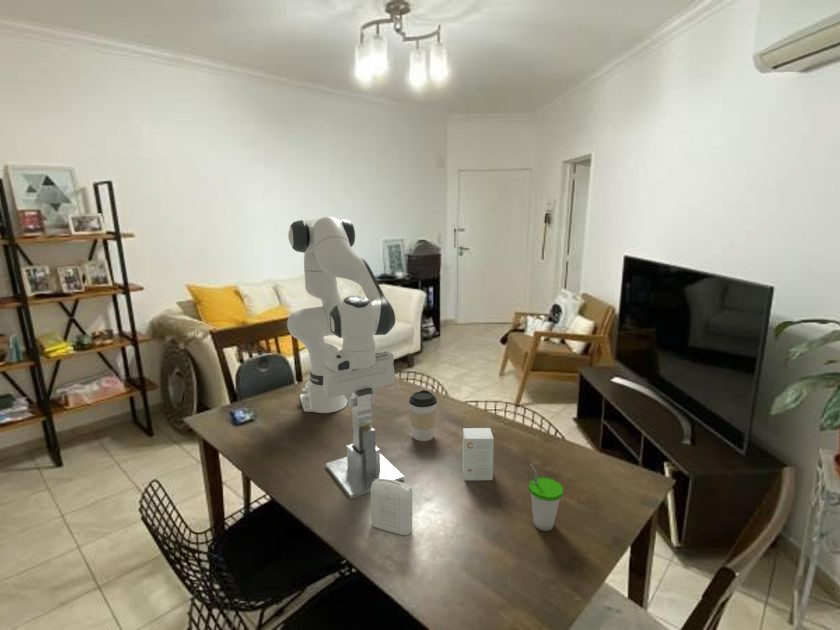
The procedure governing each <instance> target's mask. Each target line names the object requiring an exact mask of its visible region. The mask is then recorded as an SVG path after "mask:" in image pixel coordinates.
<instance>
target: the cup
mask: <svg viewBox="0 0 840 630" xmlns="http://www.w3.org/2000/svg"><path fill="white" fill-rule="evenodd" d="M529 466H530V467H531V469H532V470H533V472H534V478H533V479H532V480H530V481H529V484H528V490H529V492H530V498H531V509H532V520H533V525H534V527H535V528H536V529H537V530H539V531H542V532H550V531H551V530H553V528H554V526H555V520H556V517H557V513H558V508H559V504H560V499H561V498H562V497H563V494H564V487H563V486H562V484H561V483H560V482H559V481H556V480H555V479H552V478H548V477H544V476H543V477H538V471H537V469H536V468H535V467H534V464H533V463H532V462H531V463H529Z"/></svg>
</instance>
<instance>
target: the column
mask: <svg viewBox="0 0 840 630" xmlns="http://www.w3.org/2000/svg"><path fill="white" fill-rule="evenodd" d="M371 393H372V389H371V388H366V389H362V390H358V391H356V392H353V393H352V396H351V397H350V398H351V399H354V400H355V401H356V407H352V408H351V418H352V420H351V421H352V438H353V439H352V440H353V442H352V444H353V445H354V450H355V451H356V452H357V453H358V454H360V453H363V432H362V429H364V428H367V427H371V428H373V427H372V426H373V425H372V423H373V422H372V402H371Z"/></svg>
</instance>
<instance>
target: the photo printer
mask: <svg viewBox="0 0 840 630" xmlns="http://www.w3.org/2000/svg"><path fill="white" fill-rule="evenodd" d="M370 521H371V522H370V524H371V526H372V527H374V528H377V529H379V530H383V531H386V532H390V533H393V534H395V535H396V534H397V535H401V536H408V535H410V534H411V533H412V531H413V489H412V487H411V486H409V485H408V484H405V483H404V482H402V481H399V482H398V481H395V480H391V479H375V480H374V481H373V482H372V485H371V492H370Z"/></svg>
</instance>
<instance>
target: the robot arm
mask: <svg viewBox="0 0 840 630" xmlns="http://www.w3.org/2000/svg"><path fill="white" fill-rule="evenodd" d="M287 235H288V241H289V244H290V246H291V248H292V249H293V251H295V252H296V253H297V252H298V253H303V254H304V255H303V270H304V273H303V274H304V283H305V285H304V286H305V291H306V292H307V293H308V295H310V296H311V297H314V298H316V299H319V300H321V302H322V303H321V304H322V306H316V307H307V308H302V309H299V310H295V311H293V312H291V313H290V315H289V316H288V319H287V323H286V327H287V329H288V332H289V334H290V335H291V336H292V337H293V338H295V339H296V340H298V341H299V342H300V343H302V344H303V345H304V346H305V348H306V350H307V353H308V357H309V362H310V363H309V364H310V372H309V380H308V381H307V382H306V383H305V385H304V388H302V389H301V394H300V395H299V400H300V402H301V405H302V409H303V411H304V412H307V413H308V412H311V413H317V414H319V413H320V414H330V413H335V412H339V411H340V410H342V409H344V408H345V407H347V406H348V407H349V408H351V409H352V407H356V401H355V400H354V399H351V396H352V393H353V392H356V391H358V390H362V389H366V388H371V389H372V393H371V403H374V401H375V399H374V398H375V396H376V393H377V391H378V388H379V387H382V386H386V385H391V384H393V383H394V381H395V380H396V375H395V374H396V373H395V368H394V358H395V357H394V355H393V353H392V352H390V351H387V350H386V351H383V352H376V342H375V339H374V337H375V336H385V335H387V334H389V333H390V332H391V330H393V328H394V326H395V325H396V315H395V310H394V308H393V306H392V305H391V303H390V302H389V301H388V299H387V298H386V296H385V294H384V292H383V290H382V288H381V286H380V284H379V282H378V281H377V278H376V276H375V275H374V273H373V271H372V268H371V267H370V265H369V264H368V262H367V260H366V259H364V258H363V257H360V255H358V254H357V253H356V252H355V251H354V250H353V248H352V247H353V246H354V244H355V240H356V229H355V227H354V224H353V223H352V222H351V220H349V219H344V218H340V219H337V218H336V217H333V216H324V217H321V218H319V219H317V218H316V219H307V220H303V219H300V220H296V221H293V222H292V223H291V224H290V225H289V230H288V234H287ZM337 278H339V279H345V280H349V281H352V282H354V283H357V284H358V285H359V286H360V287H361V288H362V290H363V293H364V295H365V296H362V295H349V296H347V297H345V298H342V296H341V294H340V292H339V289H338V282H337ZM327 336H336V337H337V338H339V339H342V340H343V341H342V346H341V349H340V350H339V348H338V347H337V346H335V345H334V344H331V343H328V342H325V337H327ZM347 404H348V405H347Z"/></svg>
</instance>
